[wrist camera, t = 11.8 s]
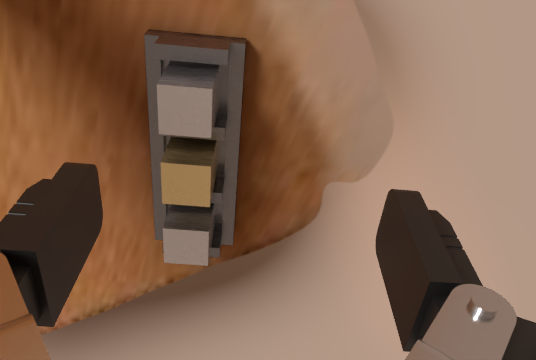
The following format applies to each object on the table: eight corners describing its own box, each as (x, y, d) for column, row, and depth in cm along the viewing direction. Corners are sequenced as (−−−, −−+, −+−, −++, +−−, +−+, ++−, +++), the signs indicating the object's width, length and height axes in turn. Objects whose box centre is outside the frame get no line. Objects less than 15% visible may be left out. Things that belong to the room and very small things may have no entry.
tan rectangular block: (173, 128, 42) (160, 162, 37) (218, 132, 42) (210, 166, 37) (174, 166, 44) (162, 203, 39) (217, 170, 44) (209, 207, 39)
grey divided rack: (158, 230, 49) (143, 276, 44) (148, 29, 38) (126, 55, 32) (233, 236, 50) (228, 282, 44) (246, 38, 38) (241, 66, 33)
